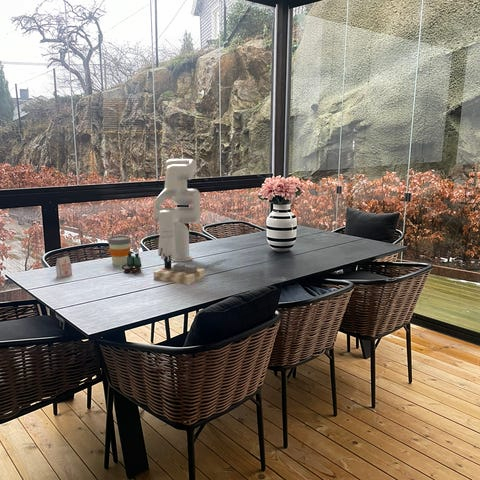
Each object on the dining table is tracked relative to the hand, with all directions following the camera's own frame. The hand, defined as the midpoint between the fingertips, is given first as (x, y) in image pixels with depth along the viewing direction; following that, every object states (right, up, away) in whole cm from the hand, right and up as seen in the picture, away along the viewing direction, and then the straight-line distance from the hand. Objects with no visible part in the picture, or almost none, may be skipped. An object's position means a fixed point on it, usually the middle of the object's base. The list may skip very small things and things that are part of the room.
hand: (168, 268), depth 254 cm
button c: (+13, -3, -5) cm, 14 cm away
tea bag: (-56, -4, +3) cm, 56 cm away
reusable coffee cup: (-32, +1, +29) cm, 43 cm away
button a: (0, -4, +1) cm, 4 cm away
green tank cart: (-21, -3, +8) cm, 23 cm away
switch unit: (+6, -5, -2) cm, 8 cm away
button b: (+6, -2, -2) cm, 7 cm away
